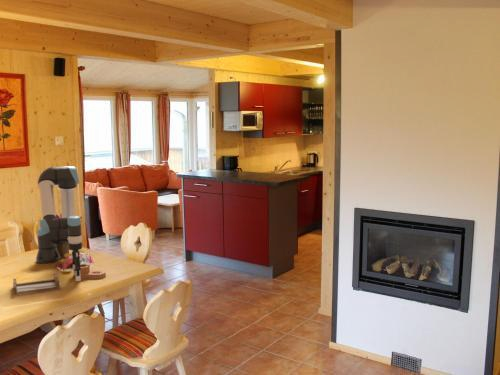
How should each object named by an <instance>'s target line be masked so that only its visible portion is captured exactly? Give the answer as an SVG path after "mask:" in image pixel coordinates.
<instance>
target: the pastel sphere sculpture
mask: <svg viewBox="0 0 500 375" xmlns="http://www.w3.org/2000/svg"><path fill="white" fill-rule="evenodd" d="M78 251H79V252H80V255H79V256H80V264H89V268H91V267H92V264H93V263H94V260H93V258H92V255H91V254H90V252H87V254H85V251H83V250H82V249H80V250H78ZM63 257H64V258H62V259H61V261H58V262H57V263H56V264H55V266H54V267H55V268H56V269H58V270H59V271H60V272H63V273H66V272H71V273H72V272H73V265H74V264H73V262H72V253H70V252H69V253H65V254H64V256H63Z"/></svg>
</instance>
